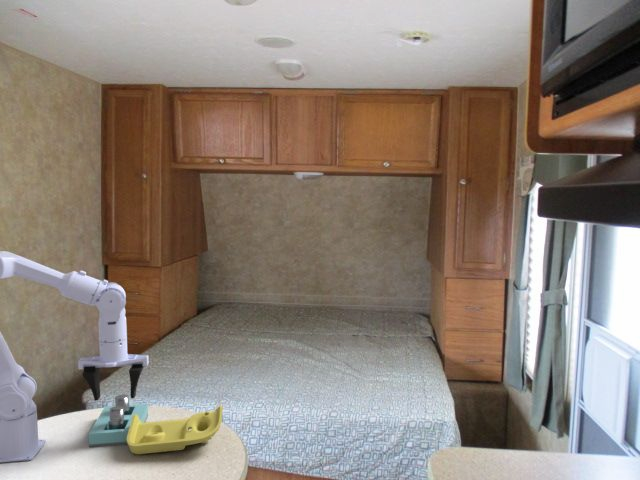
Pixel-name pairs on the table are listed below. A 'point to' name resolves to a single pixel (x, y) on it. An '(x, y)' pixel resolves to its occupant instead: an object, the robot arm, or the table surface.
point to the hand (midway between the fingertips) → (115, 397)
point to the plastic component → (172, 432)
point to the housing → (107, 437)
